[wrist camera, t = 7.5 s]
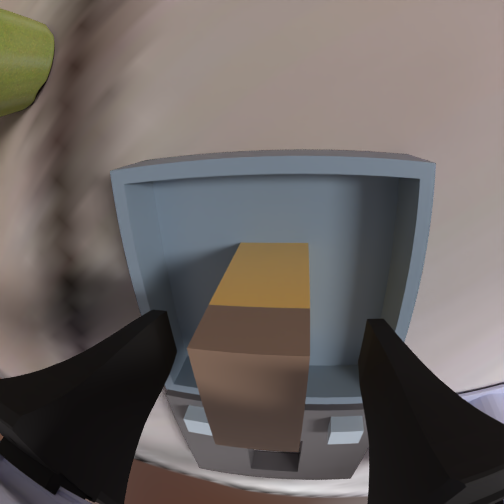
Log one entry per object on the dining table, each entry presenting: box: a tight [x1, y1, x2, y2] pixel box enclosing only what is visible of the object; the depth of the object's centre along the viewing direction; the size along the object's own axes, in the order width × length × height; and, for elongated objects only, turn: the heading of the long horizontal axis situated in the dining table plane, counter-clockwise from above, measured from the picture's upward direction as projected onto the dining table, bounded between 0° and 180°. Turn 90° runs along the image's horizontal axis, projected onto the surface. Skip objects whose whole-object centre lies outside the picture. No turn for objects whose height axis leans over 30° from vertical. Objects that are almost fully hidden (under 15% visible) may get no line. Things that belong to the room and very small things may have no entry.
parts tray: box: [110, 150, 436, 404], centre depth 13 cm, size 12×12×3 cm
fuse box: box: [166, 389, 369, 480], centre depth 18 cm, size 14×12×3 cm
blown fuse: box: [187, 243, 310, 452], centre depth 11 cm, size 3×5×7 cm, turn 3°
